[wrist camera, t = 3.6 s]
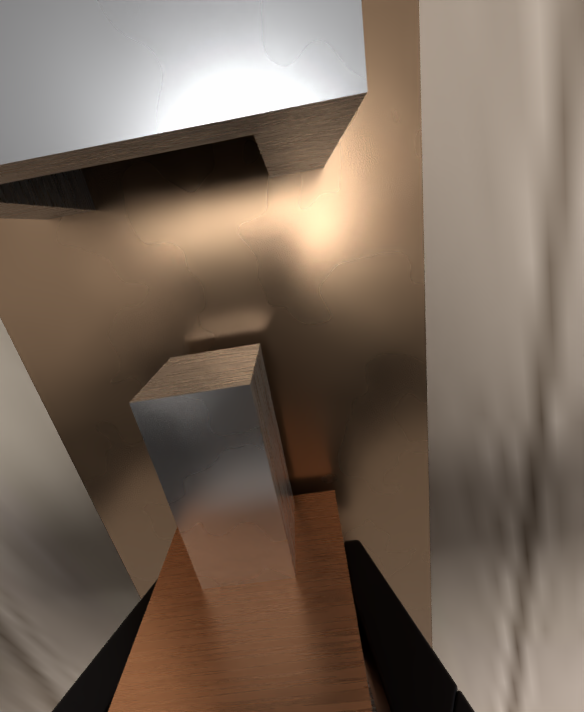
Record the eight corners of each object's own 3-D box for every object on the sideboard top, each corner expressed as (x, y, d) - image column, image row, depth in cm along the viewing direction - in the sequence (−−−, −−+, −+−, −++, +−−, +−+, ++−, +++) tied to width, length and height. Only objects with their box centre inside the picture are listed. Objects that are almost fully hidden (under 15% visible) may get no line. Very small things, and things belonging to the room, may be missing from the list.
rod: (370, 726, 13) (409, 964, 9) (268, 736, 13) (258, 972, 9) (310, 331, 7) (339, 481, 3) (127, 360, 7) (-91, 540, 3)
